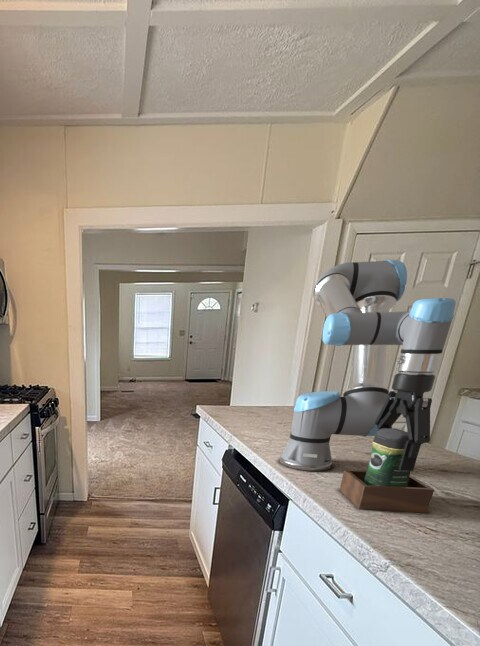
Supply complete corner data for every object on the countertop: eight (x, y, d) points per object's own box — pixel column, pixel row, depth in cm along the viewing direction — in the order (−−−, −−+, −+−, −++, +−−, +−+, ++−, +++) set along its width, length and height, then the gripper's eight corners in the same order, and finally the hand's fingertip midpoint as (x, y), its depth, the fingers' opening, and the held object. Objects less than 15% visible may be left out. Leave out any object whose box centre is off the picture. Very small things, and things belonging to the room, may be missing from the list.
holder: (339, 490, 111) (344, 469, 109) (399, 493, 109) (405, 472, 106) (359, 509, 99) (364, 486, 97) (426, 512, 97) (434, 489, 95)
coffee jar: (408, 508, 99) (431, 434, 92) (376, 508, 100) (396, 435, 93) (383, 493, 108) (402, 425, 101) (353, 493, 109) (370, 426, 102)
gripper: (372, 369, 104) (354, 448, 112) (428, 378, 81) (400, 477, 89) (404, 369, 103) (383, 449, 110) (470, 378, 80) (438, 478, 88)
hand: (391, 462), depth 100 cm, fingers open, 13 cm apart
